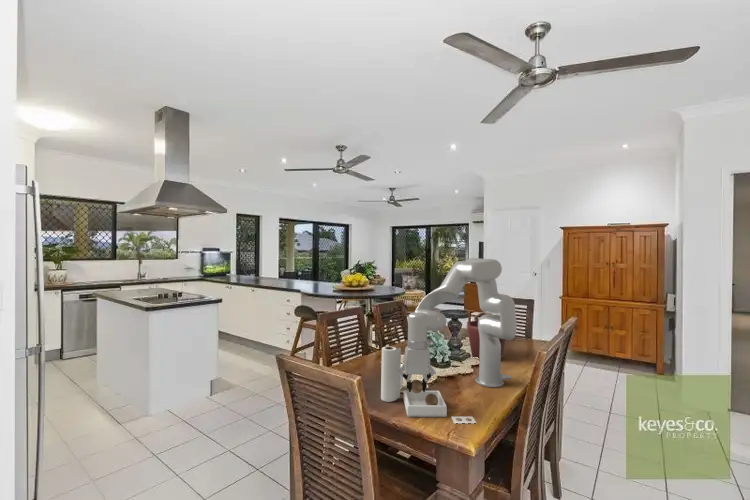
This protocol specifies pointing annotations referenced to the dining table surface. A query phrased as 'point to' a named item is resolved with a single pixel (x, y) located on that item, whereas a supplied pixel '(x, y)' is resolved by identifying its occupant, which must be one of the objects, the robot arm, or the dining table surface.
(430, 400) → the ball
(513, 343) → the dining table surface
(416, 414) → the bin
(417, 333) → the robot arm
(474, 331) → the bucket
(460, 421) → the card
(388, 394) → the paper towel roll
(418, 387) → the walnut ball
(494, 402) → the dining table surface
